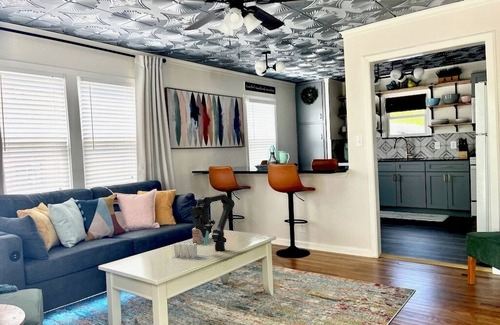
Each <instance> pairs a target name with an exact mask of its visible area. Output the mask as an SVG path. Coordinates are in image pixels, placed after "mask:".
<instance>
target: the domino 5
mask: <svg viewBox="0 0 500 325" xmlns="http://www.w3.org/2000/svg"><path fill="white" fill-rule="evenodd" d="M203 240H204V242H203V246H207V245H209V244H210V234H209V231H206V236H205V238H204V237H203Z"/></svg>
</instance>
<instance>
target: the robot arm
mask: <svg viewBox="0 0 500 325" xmlns="http://www.w3.org/2000/svg"><path fill="white" fill-rule="evenodd" d="M219 201H220V202H221V203H222V213H221V215H220V219H219V221H218V224H217V227H216V228H215V229H212V228H213V227H214V225H216V221H215V219H210V218H211V215H210V213H209V212H210V210H209V208H211V207H212V206H211V204H212V203H214V202H219ZM235 205H236V204H235V201H234V200H233V199H232V198H231V197H229V196H227V194H225V193H224V194H222V193H220V194H217V195H212V196H200V197H199V198H198V200H197V203H196V205H195V206H192V209H191V210H190V215H191V217H192V218H194V219H192V224H193V225H194V228H195V229H199V230H200V231H201V233H202V235H203V237H204V238H205V236H206V231H209V235H210V233H211V231H212V233H211V239H212V241H213V243H215V244H214V250H215V252H225V251H226V246H225V245H226V244H225V243H227V238H226V237H225V232H224V229H225V227H226V225H227V224H226V223H227V221H228V217H229V214H230V212H231V211H232V210H233V209H234V207H235ZM196 217H198V219H197V218H196Z"/></svg>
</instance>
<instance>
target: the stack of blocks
mask: <svg viewBox="0 0 500 325" xmlns="http://www.w3.org/2000/svg"><path fill="white" fill-rule="evenodd" d="M191 234H192V244H194V243H196V244H197V245H200V244H203V243H204V242H203V241H204V240H203V235H202V233H201V231H200V230H199V229H195V227H193V228H192V229H191Z"/></svg>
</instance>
